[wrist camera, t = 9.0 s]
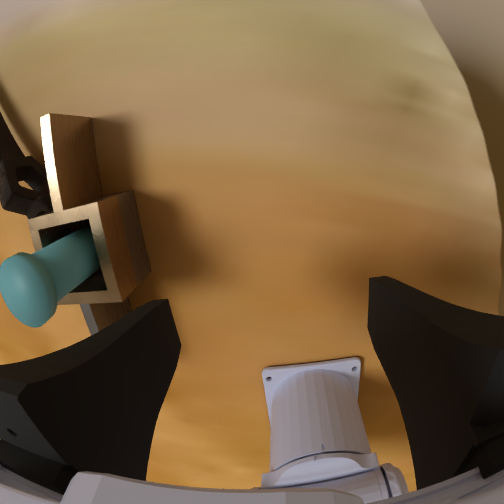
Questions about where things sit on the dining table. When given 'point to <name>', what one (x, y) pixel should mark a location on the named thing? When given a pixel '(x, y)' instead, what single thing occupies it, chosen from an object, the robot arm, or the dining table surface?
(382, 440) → the dining table surface
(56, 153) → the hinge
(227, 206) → the dining table surface
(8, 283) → the pin
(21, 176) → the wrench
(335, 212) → the dining table surface
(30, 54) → the dining table surface
